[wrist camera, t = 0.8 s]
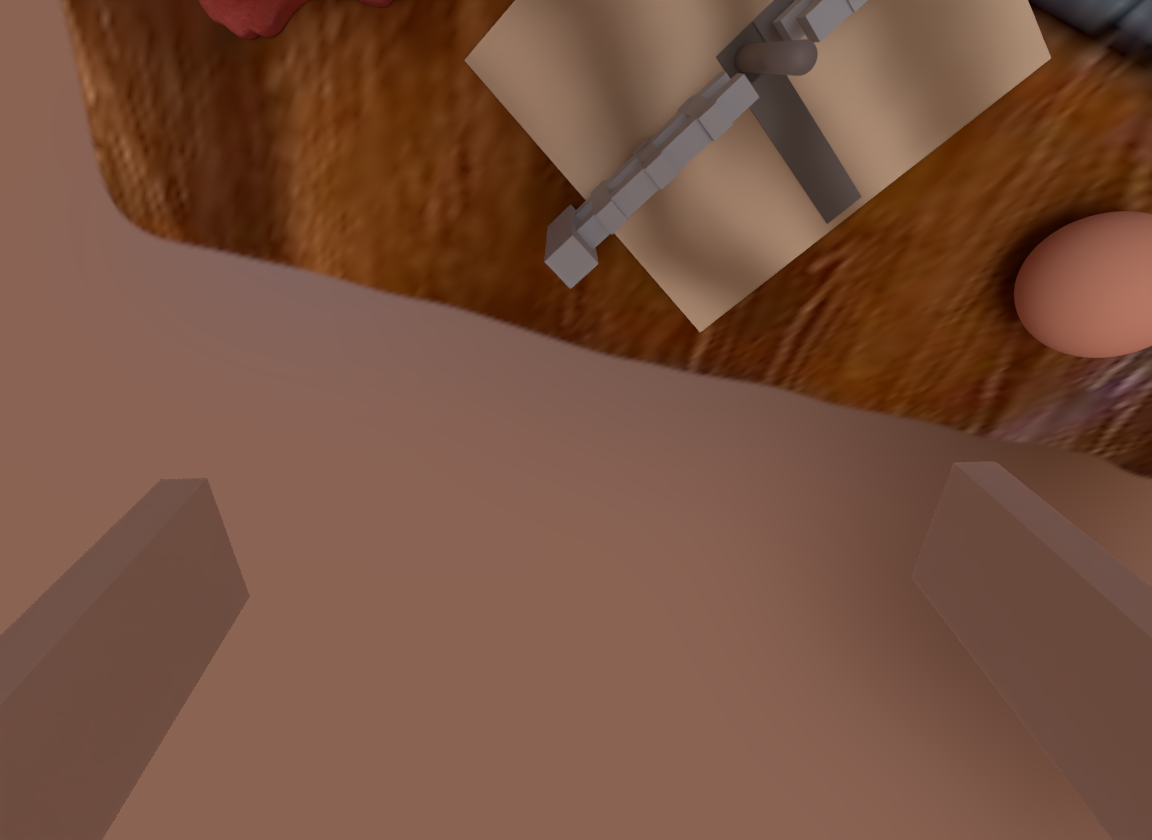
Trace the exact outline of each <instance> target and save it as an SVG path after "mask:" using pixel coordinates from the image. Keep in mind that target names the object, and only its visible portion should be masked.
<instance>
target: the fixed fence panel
mask: <svg viewBox="0 0 1152 840" xmlns="http://www.w3.org/2000/svg"><path fill="white" fill-rule="evenodd" d="M867 1H868V0H794V2H793V3H792V4H791V5H790V6H789V7H788V8H787V9H786V10H785V11H784V12H783V13H782V14H780V15H779V16H778V17H777V18H776V19H775V20H774V21H773V24H774V25H775V27H776V29H777V30H778V32H779V34H780V35H781V37H782V39H783V40H784V41H779V42H768V43H756V44H746V45H744V46H742V47H741V48H740V49H739V50H738V51H737V53H736V55H735V65H736V67H737V69H738V70H739V71H741V72H747V73H762V74H777V75H793V76H802V75H805V74H807V73H808V72H809V71H810V70H811V69H812V68H813V67H814V65H815V63H816V61H817V55H818V53H817V48H816V46H815V44H814V43H813V42H821V41H822V40H823V39H824V38H825V37H826V36H828V35H829V34H830V33H831V32H832V31H833V30H834V29H835V28H836V27H837V26H838V25H840V24H841V23H842V22H843V21H844V20H845V19H846V18H847V17H848V16H849V15H851V14H852V13H853V12H856V11H857V10H858V9H859V8H860V7H861V6H862V5H863V4H864V3H865V2H867ZM804 34H805V35H806V37H807V38H808V40H807V39H802V40H799V39H800V38H801V37H802V36H803V35H804Z"/></svg>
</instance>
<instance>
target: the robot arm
mask: <svg viewBox="0 0 1152 840" xmlns="http://www.w3.org/2000/svg"><path fill="white" fill-rule="evenodd" d="M911 578H912V579H913V580H914V581H915V583H916V584H917V586H918V587H919V588H920V589H921V591H922V592H923V593H924V595H925V596H926V597H927V599H928V600H929V601H930V603H931V604H932V605H933V606H934V608H935V609H936V610H937V612H938V613H939V614H940V616H941V617H942V618H943V620H944V621H945V622H946V623H947V625H948V626H949V627H950V629H951V630H952V631H953V633H954V634H955V635H956V637H957V638H958V639H959V640H960V642H961V643H962V644H963V646H964V647H965V648H966V650H967V651H968V652H969V654H971V656H972V657H973V659H974V660H975V661H976V663H977V664H978V665H979V667H980V668H981V669H982V671H983V672H984V673H985V675H987V677H988V678H989V680H990V681H991V682H992V683H993V685H994V686H995V688H996V689H997V690H998V691H999V693H1000V694H1001V695H1002V697H1003V698H1004V699H1005V701H1006V702H1007V703H1008V705H1009V706H1010V707H1011V709H1012V710H1013V711H1014V712H1015V714H1016V715H1017V716H1018V717H1019V719H1020V720H1021V722H1022V723H1023V724H1024V725H1025V727H1026V728H1027V729H1028V731H1029V732H1030V733H1031V735H1032V736H1033V737H1034V738H1035V740H1036V741H1037V742H1038V744H1039V745H1040V746H1041V748H1042V749H1043V750H1044V752H1045V753H1046V754H1047V756H1048V757H1049V758H1050V760H1051V761H1052V762H1053V763H1054V765H1055V766H1056V767H1057V769H1058V770H1059V771H1060V773H1061V774H1062V775H1063V777H1064V778H1065V779H1066V780H1067V782H1068V783H1069V784H1070V786H1071V787H1072V788H1073V790H1074V791H1075V792H1076V793H1077V795H1078V796H1079V797H1080V799H1081V800H1082V801H1083V803H1084V804H1085V805H1086V807H1087V808H1088V809H1089V811H1090V812H1091V813H1092V814H1093V816H1094V817H1095V818H1096V820H1097V821H1098V822H1099V824H1100V825H1101V826H1102V827H1103V829H1104V830H1105V831H1106V833H1107V834H1108V835H1109V837H1110V838H1111V839H1112V840H1152V587H1151V586H1150V585H1148V584H1147V583H1146V582H1144V581H1143V580H1142V579H1141V578H1140V577H1138V576H1137V575H1136V574H1135V573H1133V572H1132V571H1131V570H1130V569H1128V568H1127V567H1126V566H1125V565H1123V564H1122V563H1121V562H1120V561H1118V560H1117V559H1116V558H1115V557H1113V556H1112V555H1111V554H1110V553H1108V552H1107V551H1106V550H1105V549H1103V548H1102V547H1101V546H1100V545H1099V544H1097V543H1096V542H1095V541H1093V540H1092V539H1091V538H1090V537H1088V536H1087V535H1086V534H1085V533H1083V532H1082V531H1081V530H1080V529H1078V528H1077V527H1076V526H1075V525H1073V524H1072V523H1071V522H1070V521H1069V520H1067V519H1066V518H1065V517H1064V516H1062V515H1061V514H1060V513H1059V512H1057V511H1056V510H1055V509H1054V508H1052V507H1051V506H1050V505H1049V504H1047V503H1046V502H1045V501H1044V500H1042V499H1041V498H1040V497H1039V496H1037V495H1036V494H1035V493H1034V492H1032V491H1031V490H1030V489H1029V488H1027V487H1026V486H1025V485H1024V484H1022V483H1021V482H1020V481H1019V480H1018V479H1016V478H1015V477H1014V476H1013V475H1011V474H1010V473H1009V472H1008V471H1006V470H1005V469H1004V468H1003V467H1001V466H1000V465H999V464H998V463H996V462H954V463H953V466H952V469H951V471H950V474H949V477H948V480H947V482H946V485H945V488H944V490H943V493H942V496H941V498H940V501H939V504H938V507H937V509H936V512H935V515H934V517H933V520H932V523H931V526H930V528H929V531H928V534H927V537H926V539H925V542H924V545H923V547H922V550H921V553H920V555H919V558H918V561H917V563H916V566H915V569H914V572H913V574H912V577H911ZM249 597H250V595H249V593H248V590H247V587H246V584H245V582H244V579H243V576H242V573H241V571H240V568H239V565H238V563H237V560H236V557H235V554H234V551H233V548H232V546H231V543H230V540H229V538H228V535H227V532H226V529H225V527H224V524H223V521H222V518H221V515H220V513H219V510H218V507H217V505H216V502H215V499H214V496H213V493H212V490H211V488H210V485H209V482H208V479H207V478H197V479H196V478H195V479H161V480H160V481H159V482H158V483H157V484H156V485H155V486H154V487H153V488H152V489H151V490H150V491H149V492H148V493H147V494H146V495H145V496H143V497H142V498H141V499H140V500H139V501H138V502H137V503H136V504H135V505H134V506H133V507H132V508H131V509H130V510H129V511H128V512H127V513H126V514H125V515H124V516H123V517H122V518H121V519H120V520H119V521H118V522H117V523H116V524H115V525H114V526H113V527H111V528H110V530H108V531H107V532H106V534H104V535H103V536H102V537H101V538H100V539H99V540H98V541H97V542H96V543H95V544H94V545H93V546H92V547H91V548H90V549H89V550H88V551H87V552H86V553H85V554H84V555H83V556H82V557H81V558H80V559H79V560H78V561H76V562H75V563H74V564H73V565H72V566H71V567H70V568H69V569H68V570H67V571H66V572H65V573H64V574H63V575H62V576H61V577H60V578H59V579H58V580H57V581H56V582H55V583H54V584H53V585H52V586H51V587H50V588H49V589H48V590H47V591H45V592H44V593H43V594H42V595H41V596H40V597H39V598H38V599H37V600H36V601H35V602H34V603H33V604H32V605H31V606H30V607H29V608H28V609H27V610H26V611H25V612H24V613H23V614H22V615H21V616H20V617H19V618H18V619H17V620H16V621H15V622H13V623H12V624H11V625H10V627H9V628H8V629H6V630H5V631H4V632H3V633H2V634H1V635H0V840H102V839H103V837H104V836H105V834H106V832H107V831H108V829H109V828H110V826H111V824H112V822H113V821H114V819H115V818H116V816H117V814H118V813H119V811H120V809H121V807H122V806H123V804H124V803H125V801H126V799H127V798H128V796H129V794H130V793H131V791H132V790H133V788H134V786H135V785H136V783H137V781H138V779H139V778H140V776H141V775H142V773H143V771H144V770H145V768H146V767H147V765H148V763H149V761H150V760H151V758H152V757H153V755H154V753H155V752H156V750H157V748H158V747H159V745H160V743H161V742H162V740H163V739H164V737H165V735H166V734H167V732H168V730H169V729H170V727H171V725H172V723H173V722H174V720H175V719H176V717H177V715H178V714H179V712H180V710H181V709H182V707H183V705H184V704H185V702H186V701H187V699H188V697H189V696H190V694H191V692H192V691H193V689H194V687H195V686H196V684H197V682H198V681H199V679H200V677H201V676H202V674H203V673H204V671H205V669H206V668H207V666H208V664H209V663H210V661H211V659H212V658H213V656H214V654H215V653H216V651H217V649H218V648H219V646H220V644H221V643H222V641H223V640H224V638H225V636H226V635H227V633H228V631H229V630H230V628H231V626H232V625H233V623H234V621H235V620H236V618H237V616H238V615H239V613H240V612H241V610H242V608H243V607H244V605H245V603H246V601H247V600H248V598H249Z"/></svg>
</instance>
